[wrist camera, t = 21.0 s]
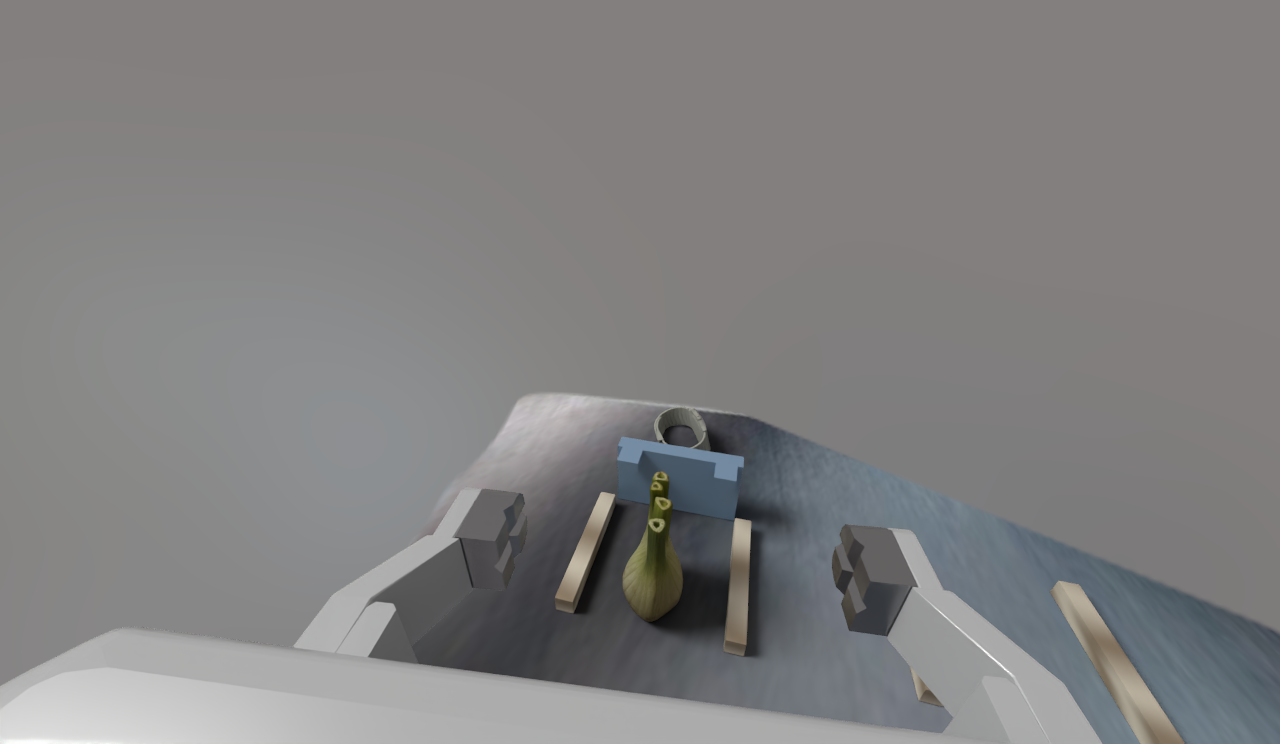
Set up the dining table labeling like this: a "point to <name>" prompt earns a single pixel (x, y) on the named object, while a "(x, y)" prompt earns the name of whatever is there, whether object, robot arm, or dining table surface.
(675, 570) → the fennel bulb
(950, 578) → the dining table surface
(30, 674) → the robot arm
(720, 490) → the blue notched panel
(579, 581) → the beige small bars
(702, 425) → the wristwatch
